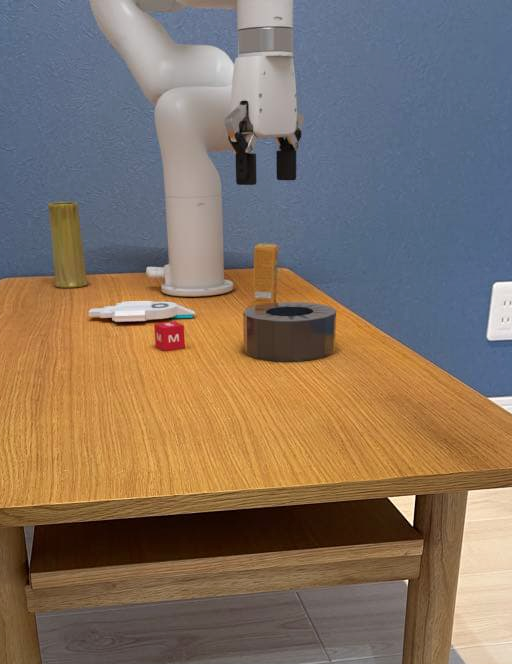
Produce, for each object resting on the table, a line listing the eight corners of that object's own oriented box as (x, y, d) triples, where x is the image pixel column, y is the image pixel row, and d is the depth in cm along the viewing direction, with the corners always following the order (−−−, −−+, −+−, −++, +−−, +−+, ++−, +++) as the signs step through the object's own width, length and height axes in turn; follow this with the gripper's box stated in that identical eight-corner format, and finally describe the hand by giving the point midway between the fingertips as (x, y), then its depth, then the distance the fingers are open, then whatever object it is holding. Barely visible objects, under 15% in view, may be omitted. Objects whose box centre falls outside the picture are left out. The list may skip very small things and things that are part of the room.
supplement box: (274, 314, 130) (274, 246, 126) (252, 314, 131) (251, 246, 126) (278, 310, 133) (278, 243, 129) (256, 310, 134) (255, 243, 129)
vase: (95, 283, 159) (87, 201, 152) (72, 289, 154) (63, 205, 148) (70, 281, 162) (61, 201, 155) (47, 286, 157) (38, 204, 151)
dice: (185, 348, 113) (183, 325, 112) (164, 351, 112) (162, 328, 110) (176, 343, 115) (174, 321, 114) (155, 346, 114) (154, 323, 113)
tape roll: (236, 360, 106) (235, 320, 104) (253, 338, 117) (252, 301, 114) (329, 363, 104) (330, 321, 102) (338, 340, 114) (339, 302, 112)
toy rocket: (84, 326, 126) (83, 310, 125) (96, 313, 135) (94, 298, 134) (192, 324, 125) (192, 308, 124) (197, 311, 134) (196, 296, 133)
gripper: (280, 50, 124) (280, 178, 131) (203, 45, 112) (208, 186, 119) (323, 46, 120) (321, 178, 127) (248, 40, 108) (251, 187, 115)
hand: (266, 182), depth 123 cm, fingers open, 9 cm apart
